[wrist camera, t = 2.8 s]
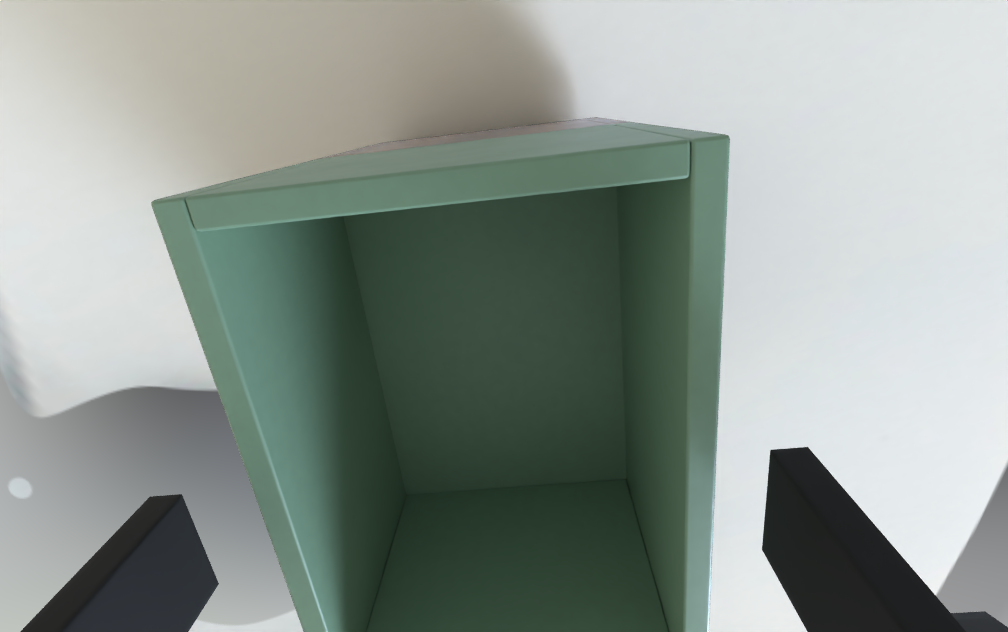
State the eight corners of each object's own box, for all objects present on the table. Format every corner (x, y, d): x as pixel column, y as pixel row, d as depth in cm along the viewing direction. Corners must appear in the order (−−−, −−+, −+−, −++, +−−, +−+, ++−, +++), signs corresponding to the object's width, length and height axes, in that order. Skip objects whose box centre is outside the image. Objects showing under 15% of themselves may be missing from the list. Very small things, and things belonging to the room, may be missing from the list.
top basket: (626, 120, 19) (731, 134, 9) (635, 466, 24) (707, 692, 15) (326, 156, 19) (147, 201, 10) (401, 483, 25) (329, 707, 16)
